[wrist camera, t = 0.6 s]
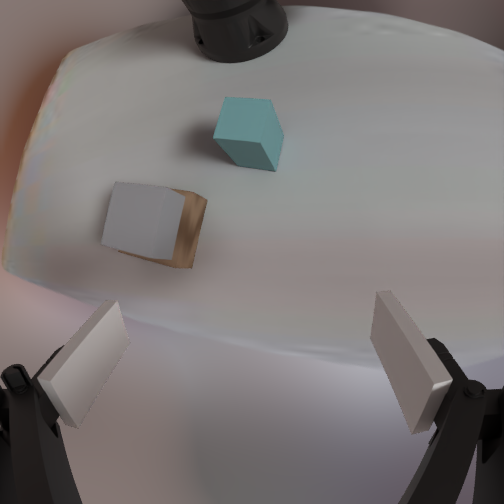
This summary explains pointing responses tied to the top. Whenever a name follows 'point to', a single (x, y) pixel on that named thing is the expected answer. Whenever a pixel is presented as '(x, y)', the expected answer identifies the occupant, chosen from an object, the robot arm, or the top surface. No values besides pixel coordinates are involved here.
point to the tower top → (143, 220)
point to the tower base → (184, 232)
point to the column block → (250, 132)
